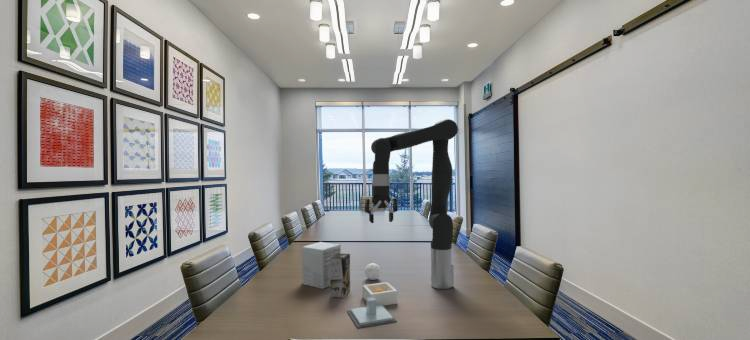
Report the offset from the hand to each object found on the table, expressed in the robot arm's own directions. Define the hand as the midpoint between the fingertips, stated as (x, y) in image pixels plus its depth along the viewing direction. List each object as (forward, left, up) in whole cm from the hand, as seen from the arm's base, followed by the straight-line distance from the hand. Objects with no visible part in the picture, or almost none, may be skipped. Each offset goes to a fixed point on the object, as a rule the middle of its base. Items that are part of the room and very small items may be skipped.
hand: (381, 222), depth 142 cm
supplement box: (+22, -22, -30) cm, 43 cm away
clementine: (+4, +8, -27) cm, 29 cm away
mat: (+12, +21, -30) cm, 39 cm away
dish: (+4, +8, -30) cm, 31 cm away
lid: (+12, +21, -30) cm, 38 cm away
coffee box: (+17, -5, -30) cm, 35 cm away
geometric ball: (-2, -18, -30) cm, 35 cm away
